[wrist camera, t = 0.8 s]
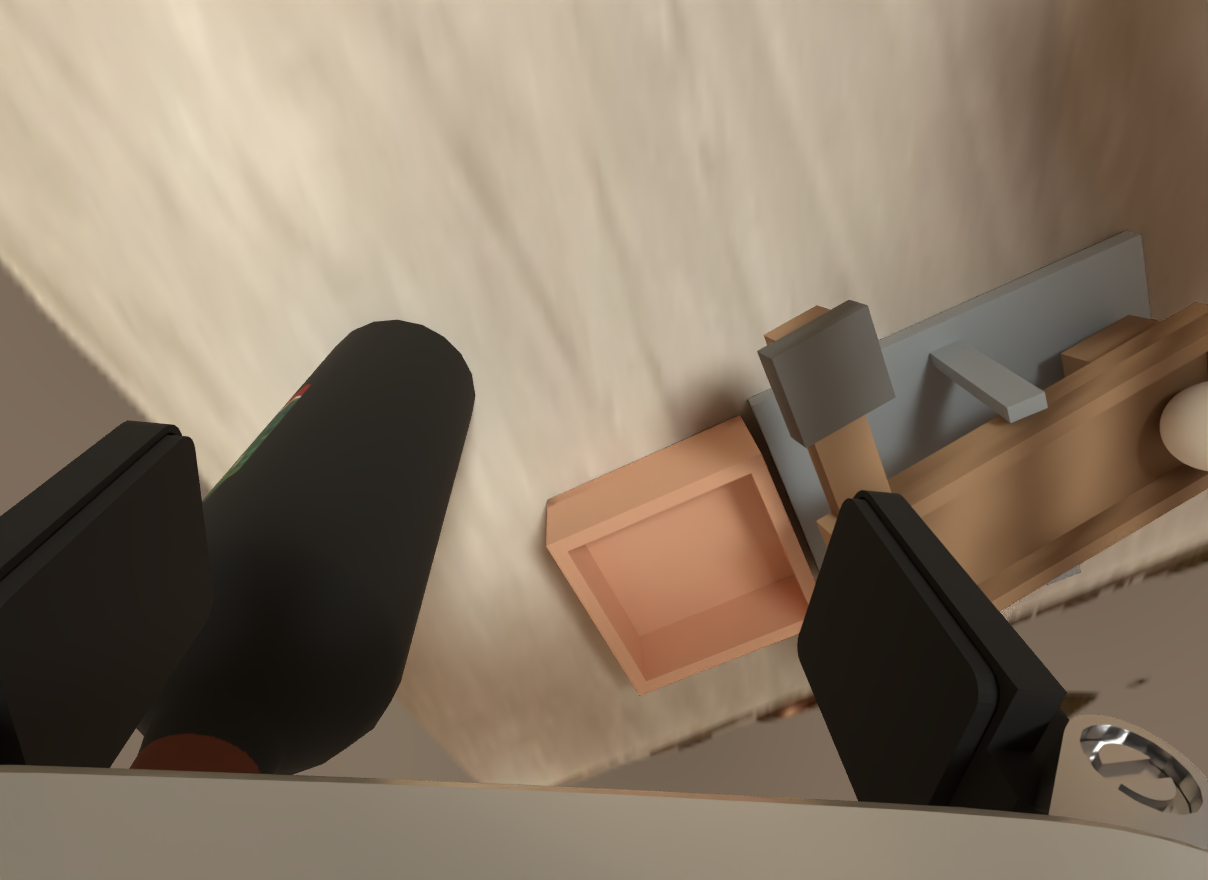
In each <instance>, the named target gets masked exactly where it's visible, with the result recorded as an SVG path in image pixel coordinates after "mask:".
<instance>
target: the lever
mask: <svg viewBox="0 0 1208 880" xmlns="http://www.w3.org/2000/svg"><path fill="white" fill-rule="evenodd" d="M764 337H765V340H766V343H767V346H766V347H764V348H762V349H760V350H759V351H757V352H758V355H759V357H760V360H761V362H762V365H763V367H764V370H765V373H766V375H767V378H768V380H769V383H770V385H771V388H772V390H773V393H774V395H775V398H776V401H777V403H778V406H779V408H780V411H781V413H782V416H783V418H784V421H785V423H786V426H787V429H788V431H789V434H790V436H791V438H793V439H794V440H795V441H797V442H798V443H800V444H801V445H802V446H804V447H805V448H807V449H808V452H809V455H810V457H811V460H812V462H813V465H814V468H815V470H816V473H817V475H818V478H819V481H820V483H821V486H822V488H823V491H824V494H825V496H826V499H827V501H828V504H829V507H830V509H831V513H829V514H828V515H826V516H824V517H822V518H821V519H819V520H817V521H816V522H817V525H818V527H819V530H820V532H821V535H822V537H823V540H824V542H825V545H826V547H828V544H829V541H830V538H831V535H832V532H833V529H834V526H835V523H836V520H837V517H838V514H839V511H840V508H841V505H842V503H843V502H844V501H845V500H846V499H847V498H852V499H853V497H854V496H855V495H856V493H857V492H859V491H861V490H867V491H878V492H888V493H898V494H900V495H902V496H903V497H904V498H905V499H906V501H907V502H908V503H909V504H910V505H911V507H912V508H913V509H914V510H915V511H916V513H917V514H918V515H919V516H920V517H921V519H922V520H923V521H924V522H925V523H926V525H927V526H928V527H929V528H930V529H931V531H932V532H933V533H934V534H935V535H936V537H937V538H938V539H939V540H940V541H941V543H942V544H943V545H944V546H945V547H946V548H947V550H948V551H949V552H950V553H951V554H952V556H953V557H954V558H955V559H956V560H957V562H958V563H959V564H960V565H961V566H962V568H963V569H964V570H965V571H966V572H967V574H968V575H969V576H970V577H971V578H972V580H973V581H974V582H975V583H976V584H977V586H978V587H979V588H980V589H981V590H982V591H983V593H984V594H985V595H986V596H987V597H988V599H989V600H990V601H991V602H992V603H993V605H994V606H995V607H996V608H997V609H998V611H1001V610H1003V609H1005V608H1006V607H1008V606H1010V605H1011V604H1013V603H1015V602H1016V601H1018V600H1020V599H1021V598H1023V597H1025V596H1027V595H1028V594H1030V593H1032V592H1033V591H1035V590H1037V589H1038V588H1040V587H1042V586H1043V585H1045V584H1047V583H1048V582H1050V581H1052V580H1054V579H1055V578H1057V577H1059V576H1060V575H1062V574H1064V573H1065V572H1067V571H1069V570H1070V569H1072V568H1074V567H1076V566H1077V565H1079V564H1081V563H1082V562H1084V561H1086V560H1087V559H1089V558H1091V557H1092V556H1094V555H1096V554H1097V553H1099V552H1101V551H1103V550H1104V549H1106V548H1108V547H1109V546H1111V545H1113V544H1114V543H1116V542H1118V541H1119V540H1121V539H1123V538H1125V537H1126V536H1128V535H1130V534H1131V533H1133V532H1135V531H1136V530H1138V529H1140V528H1141V527H1143V526H1145V525H1146V524H1148V523H1150V522H1152V521H1153V520H1155V519H1157V518H1158V517H1160V516H1162V515H1163V514H1165V513H1167V512H1168V511H1170V510H1172V509H1174V508H1175V507H1177V506H1179V505H1180V504H1182V503H1184V502H1185V501H1187V500H1189V499H1190V498H1192V497H1194V496H1195V495H1197V494H1199V493H1201V492H1202V491H1204V490H1206V489H1207V488H1208V471H1204V470H1200V469H1196V468H1193V467H1191V466H1189V465H1186V464H1184V463H1183V462H1181V461H1180V460H1178V459H1177V458H1176V457H1174V456H1173V455H1172V454H1171V453H1170V452H1169V450H1168V449H1167V448H1166V446H1165V445H1164V443H1163V441H1162V438H1161V435H1160V418H1161V415H1162V412H1163V410H1164V408H1165V407H1166V405H1167V404H1168V402H1169V401H1170V400H1171V399H1172V398H1173V397H1174V396H1175V395H1177V394H1178V393H1179V392H1181V391H1182V390H1184V389H1186V388H1188V387H1190V386H1192V385H1195V384H1198V383H1202V382H1206V381H1208V304H1202V303H1196V302H1195V303H1194V304H1192V305H1190V306H1188V307H1187V308H1185V309H1183V310H1181V311H1180V312H1178V313H1176V314H1175V315H1173V316H1171V317H1169V318H1168V319H1166V320H1164V321H1157V320H1152V319H1147V318H1142V317H1138V316H1133V315H1127V316H1125V317H1123V318H1122V319H1120V320H1118V321H1116V322H1115V323H1113V324H1111V325H1109V326H1108V327H1106V328H1104V329H1103V330H1101V331H1099V332H1097V333H1096V334H1094V335H1092V336H1090V337H1089V338H1087V339H1085V340H1083V341H1082V342H1080V343H1078V344H1076V345H1075V346H1073V347H1071V348H1069V349H1068V350H1066V351H1064V352H1062V353H1061V359H1062V364H1063V370H1064V375H1065V378H1063V379H1062V380H1060V381H1058V382H1057V383H1055V384H1053V385H1051V386H1050V387H1048V388H1046V389H1044V390H1043V391H1044V392H1045V396H1046V401H1047V406H1048V408H1046V409H1044V410H1041V411H1039V412H1037V413H1034V414H1032V415H1029V416H1027V417H1024V418H1022V419H1020V420H1017V421H1015V422H1012V423H1010V422H1008V421H1007V420H1006V419H1004V418H1003V417H1001V416H1000V415H999V416H998V417H996V418H994V419H992V420H991V421H989V422H987V423H985V424H984V425H982V426H980V427H978V428H977V429H975V430H973V431H972V432H970V433H968V434H966V435H965V436H963V437H961V438H959V439H958V440H956V441H954V442H952V443H951V444H949V445H947V446H946V447H944V448H942V449H940V450H939V451H937V452H935V453H933V454H932V455H930V456H928V457H926V458H925V459H923V460H921V461H919V462H918V463H916V464H914V465H913V466H911V467H909V468H907V469H906V470H904V471H902V472H900V473H899V474H897V475H895V476H893V477H892V478H890V479H888V480H887V478H886V475H885V472H884V469H883V466H882V463H881V460H880V457H879V454H878V451H877V448H876V445H875V442H874V439H873V436H872V433H871V430H870V427H869V424H868V421H867V418H866V415H865V414H867V413H869V412H871V411H872V410H874V409H876V408H878V407H879V406H881V405H883V404H885V403H886V402H888V401H890V400H892V399H893V398H895V393H894V390H893V387H892V384H891V380H890V377H889V374H888V371H887V367H886V364H885V361H884V358H883V354H882V351H881V348H880V345H879V341H878V338H877V335H876V332H875V328H874V325H873V322H872V319H871V315H870V312H869V309H868V306H867V305H864V304H861V303H858V302H855V301H851V300H848V301H846V302H844V303H842V304H841V305H839V306H837V307H835V308H833V309H832V310H829V309H826V308H823V307H820V306H815V307H813V308H811V309H810V310H808V311H806V312H804V313H802V314H801V315H799V316H797V317H795V318H793V319H792V320H790V321H788V322H786V323H785V324H783V325H781V326H779V327H777V328H776V329H774V330H772V331H770V332H768V333H767V334H765V335H764Z"/></svg>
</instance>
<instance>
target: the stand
mask: <svg viewBox="0 0 1208 880" xmlns="http://www.w3.org/2000/svg"><path fill="white" fill-rule="evenodd" d="M1127 315H1133V316H1138V317H1142V318H1147V319H1151V313H1150V305H1149V296H1148V288H1147V279H1146V271H1145V262H1144V254H1143V245H1142V237H1141V234H1138V233H1134V232H1130V231H1124V232H1122V233H1120V234H1117V235H1115V236H1113V237H1111V238H1108V239H1106V240H1104V241H1102V242H1099V243H1097V244H1095V245H1093V246H1090V247H1088V248H1086V249H1084V250H1081V251H1079V252H1077V253H1075V254H1072V255H1070V256H1068V257H1066V258H1063V259H1061V260H1059V261H1057V262H1054V263H1052V264H1050V265H1048V266H1045V267H1043V268H1041V269H1039V270H1036V271H1034V272H1032V273H1030V274H1027V275H1025V276H1023V277H1021V278H1018V279H1016V280H1014V281H1012V282H1009V283H1007V284H1005V285H1003V286H1000V287H998V288H996V289H994V290H991V291H989V292H987V293H985V294H982V295H980V296H978V297H976V298H973V299H971V300H969V301H967V302H964V303H962V304H960V305H958V306H955V307H953V308H951V309H949V310H946V311H944V312H942V313H940V314H937V315H935V316H933V317H931V318H928V319H926V320H924V321H922V322H919V323H917V324H915V325H913V326H910V327H908V328H906V329H904V330H901V331H899V332H897V333H895V334H892V335H890V336H888V337H886V338H883V339H881V340H879V345H880V348H881V351H882V354H883V358H884V361H885V364H886V367H887V371H888V374H889V377H890V380H891V384H892V387H893V390H894V393H895V398H893V399H892V400H890V401H888V402H886V403H885V404H883V405H881V406H879V407H878V408H876V409H874V410H872V411H871V412H869V413H867V414H865V415H866V418H867V421H868V424H869V427H870V430H871V433H872V436H873V439H874V442H875V445H876V448H877V451H878V454H879V457H880V460H881V463H882V466H883V469H884V472H885V475H886V478H887V480H888V479H890V478H892V477H893V476H895V475H897V474H899V473H900V472H902V471H904V470H906V469H907V468H909V467H911V466H913V465H914V464H916V463H918V462H919V461H921V460H923V459H925V458H926V457H928V456H930V455H932V454H933V453H935V452H937V451H939V450H940V449H942V448H944V447H946V446H947V445H949V444H951V443H952V442H954V441H956V440H958V439H959V438H961V437H963V436H965V435H966V434H968V433H970V432H972V431H973V430H975V429H977V428H978V427H980V426H982V425H984V424H985V423H987V422H989V421H991V420H992V419H994V418H996V417H998V416H999V415H1000V416H1001V417H1003V418H1004V419H1006V420H1007V421H1008V422H1010V423H1012V422H1015V421H1017V420H1020V419H1022V418H1024V417H1027V416H1029V415H1032V414H1034V413H1037V412H1039V411H1041V410H1044V409H1046V408H1048V406H1047V401H1046V396H1045V392H1044V391H1043V390H1044V389H1046V388H1048V387H1050V386H1051V385H1053V384H1055V383H1057V382H1058V381H1060V380H1062V379H1063V378H1065V375H1064V370H1063V364H1062V359H1061V353H1062V352H1064V351H1066V350H1068V349H1069V348H1071V347H1073V346H1075V345H1076V344H1078V343H1080V342H1082V341H1083V340H1085V339H1087V338H1089V337H1090V336H1092V335H1094V334H1096V333H1097V332H1099V331H1101V330H1103V329H1104V328H1106V327H1108V326H1109V325H1111V324H1113V323H1115V322H1116V321H1118V320H1120V319H1122V318H1123V317H1125V316H1127ZM748 401H749V404H750V406H751V408H752V411H753V413H754V416H755V418H756V421H757V423H758V425H759V428H760V430H761V433H762V435H763V437H764V440H765V442H766V445H767V447H768V450H769V452H770V454H771V457H772V459H773V462H774V464H775V466H776V469H777V471H778V474H779V476H780V479H781V481H782V483H783V486H784V488H785V491H786V493H787V495H788V498H789V500H790V503H791V505H792V508H793V510H794V512H795V515H796V517H797V520H798V522H799V524H800V527H801V529H802V532H803V534H804V537H805V539H806V541H807V544H808V546H809V549H810V551H811V553H812V556H813V558H814V561H815V563H816V566H817V568H818V570H819V572H820V569H821V565H822V562H823V559H824V556H825V553H826V550H827V547H826V545H825V542H824V540H823V537H822V535H821V532H820V530H819V527H818V525H817V522H816V521H817V520H819V519H821V518H822V517H824V516H826V515H828V514H829V513H831V509H830V507H829V504H828V501H827V499H826V496H825V494H824V491H823V488H822V486H821V483H820V481H819V478H818V475H817V473H816V470H815V468H814V465H813V462H812V460H811V457H810V455H809V452H808V449H807V448H805V447H804V446H802V445H801V444H800V443H798V442H797V441H795V440H794V439H793V438H791V436H790V434H789V431H788V429H787V426H786V423H785V421H784V418H783V416H782V413H781V411H780V408H779V406H778V403H777V401H776V398H775V395H774V393H773V390H772V388H771V389H769V390H766V391H764V392H762V393H760V394H757V395H755V396H753V397H751V398H748ZM1080 572H1081V571H1080V566H1079V565H1077V566H1076V567H1074V568H1072V569H1070V570H1069V571H1067V572H1065V573H1064V574H1062V575H1060V576H1059V577H1057V578H1055V579H1054V580H1052V581H1050V582H1048V583H1047V585H1048V584H1051V583H1053V582H1056V581H1059V580H1061V579H1064V578H1067V577H1069V576H1072V575H1074V574H1077V573H1080Z"/></svg>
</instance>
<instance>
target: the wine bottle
mask: <svg viewBox="0 0 1208 880" xmlns="http://www.w3.org/2000/svg"><path fill="white" fill-rule="evenodd" d="M474 400H475V391H474V385H473V379H472V374H471V372H470V370H469V368H468V366H467V364H466V362H465V360H464V359H463V357H462V355H461V353H460V352H459V351H458V350H457V349H456V348H455V347H454V346H453V345H452V344H451V343H450V342H449V341H448V340H447V339H446V338H445V337H443V336H441V335H440V334H438V333H436V332H434V331H432V330H430V329H428V328H427V327H425V326H423V325H420V324H415V323H410V322H405V321H401V320H390V321H379V322H372V323H370V324H368V325H365V326H363V327H361V328H358V329H356V330H354V331H352V332H351V333H350V334H349V335H348V336H346V337H345V338H344V339H343V340H342V341H341V342H340V343H339V344H338V345H337V346H336V347H335V348H334V349H333V350H332V352H331V353H330V354H329V355H328V356H327V357H326V358H325V360H324V361H323V362H322V363H321V364H320V365H319V367H318V368H317V369H316V370H315V371H314V372H313V374H312V375H311V376H310V377H309V378H308V379H307V380H306V382H305V383H304V384H303V385H302V386H301V387H300V389H299V390H298V391H297V392H296V393H295V394H294V395H293V397H292V398H291V399H290V400H289V401H288V402H287V404H286V405H285V406H284V407H283V408H282V409H281V410H280V412H279V413H278V414H277V415H276V416H275V417H274V419H273V420H272V421H271V422H270V423H269V424H268V425H267V427H266V428H265V429H264V430H263V431H262V432H261V434H260V435H259V436H258V437H257V438H256V439H255V441H254V442H253V443H252V444H251V445H250V446H249V447H248V449H247V450H246V451H245V452H244V453H243V454H242V456H241V457H240V458H239V459H238V460H237V461H236V462H235V464H234V465H233V466H232V467H231V468H230V469H229V471H228V472H227V473H226V474H225V475H224V476H223V477H222V479H221V480H220V481H219V482H218V483H217V484H216V486H215V487H214V488H213V489H212V490H211V491H210V492H209V494H208V495H207V496H206V497H205V498H204V499H203V501H202V507H203V514H204V522H205V530H206V538H207V546H208V554H209V562H210V569H211V577H212V585H213V596H214V598H213V606H212V610H211V613H210V616H209V618H208V620H207V622H206V623H205V625H204V626H203V628H202V629H201V631H200V632H199V634H198V635H197V637H196V638H195V640H194V641H193V643H192V644H191V646H190V647H189V649H188V650H187V652H186V653H185V655H184V656H183V658H182V659H181V661H180V662H179V664H178V665H177V667H176V668H175V670H174V671H173V673H172V674H171V676H170V677H169V679H168V680H167V682H166V684H165V685H164V687H163V688H162V690H161V691H160V693H159V694H158V696H157V697H156V699H155V700H154V702H153V703H152V705H151V706H150V708H149V709H148V711H147V712H146V714H145V715H144V717H143V718H142V720H141V721H140V723H139V724H138V726H137V727H136V728H137V729H138V730H139V731H140V732H141V733H142V735H143V736H144V739H143V741H142V745H141V748H140V750H139V753H138V756H137V757H136V759H135V760H134V762H133V764H132V765H131V767H130V768H129V769H147V770H173V771H198V772H224V773H249V774H275V775H293V774H295V773H298V772H301V771H304V770H307V769H310V768H313V767H315V766H318V765H321V764H323V763H325V762H326V761H328V760H329V759H331V758H332V757H334V756H335V755H337V754H338V753H340V752H341V751H343V750H344V749H346V748H347V747H349V746H350V745H351V744H353V743H354V742H356V741H357V740H358V739H359V738H361V737H362V736H364V735H365V734H366V733H368V732H369V731H371V730H372V729H373V728H374V727H375V725H376V724H377V722H378V721H379V719H380V718H381V716H382V715H383V713H384V711H385V710H386V708H387V707H388V705H389V703H390V702H391V700H392V698H393V696H394V694H395V692H396V690H397V688H398V686H399V684H400V683H401V679H402V675H403V671H404V668H405V664H406V660H407V656H408V653H409V649H410V645H411V641H412V638H413V634H414V630H415V626H416V623H417V619H418V615H419V611H420V608H421V604H422V600H423V596H424V593H425V589H426V585H427V581H428V578H429V574H430V570H431V566H432V563H433V559H434V555H435V551H436V547H437V544H438V540H439V536H440V532H441V529H442V525H443V521H444V517H445V514H446V510H447V506H448V502H449V499H450V495H451V491H452V487H453V484H454V480H455V476H456V472H457V469H458V465H459V461H460V457H461V454H462V450H463V446H464V442H465V439H466V435H467V431H468V427H469V424H470V420H471V416H472V411H473V405H474Z"/></svg>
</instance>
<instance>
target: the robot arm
mask: <svg viewBox="0 0 1208 880" xmlns="http://www.w3.org/2000/svg"><path fill="white" fill-rule="evenodd" d="M213 598H214V596H213V585H212V577H211V569H210V562H209V554H208V546H207V538H206V530H205V522H204V514H203V507H202V499H201V491H200V483H199V475H198V467H197V460H196V452H195V446H194V443H193V441H192V439H191V438H190V437H187V436H182V434H181V432H180V430H179V428H178V427H176V426H175V425H170V424H160V423H149V422H139V421H126V422H124V423H122V424H120V425H119V426H118V427H116V428H115V429H114V430H113V431H111V432H110V433H109V434H107V435H106V436H105V437H103V438H102V439H101V440H100V441H98V442H97V443H96V444H94V445H93V446H92V447H90V448H89V449H88V450H87V451H85V452H84V453H83V454H81V455H80V456H79V457H77V458H76V459H75V460H73V461H72V462H71V463H70V464H68V465H67V466H66V467H64V468H63V469H62V470H60V471H59V472H58V473H56V474H55V475H54V476H53V477H51V478H50V479H49V480H47V481H46V482H45V483H43V484H42V485H41V486H39V487H38V488H37V489H36V490H35V491H33V492H32V493H30V494H29V495H28V496H26V497H25V498H24V499H23V500H21V501H20V502H19V503H17V504H16V505H15V506H13V507H12V508H11V509H9V510H8V511H7V512H5V513H4V514H3V515H2V516H0V880H1208V780H1207V779H1206V777H1205V776H1204V774H1203V773H1202V772H1200V770H1199V769H1198V768H1197V767H1196V766H1194V765H1193V764H1192V763H1191V762H1190V761H1189V760H1188V759H1187V758H1186V757H1185V756H1184V755H1182V754H1181V753H1180V752H1179V751H1177V750H1176V749H1174V748H1173V747H1172V746H1170V745H1169V744H1168V743H1166V742H1165V741H1164V740H1162V739H1160V738H1158V737H1157V736H1155V735H1153V734H1151V733H1149V732H1148V731H1146V730H1144V729H1142V728H1140V727H1138V726H1135V725H1133V724H1130V723H1128V722H1125V721H1123V720H1120V719H1117V718H1113V717H1108V716H1104V715H1099V714H1090V715H1089V714H1087V715H1080V716H1077V717H1075V718H1073V719H1070V720H1069V719H1068V718H1067V716H1066V715H1065V714H1064V713H1063V711H1062V710H1061V709H1060V708H1059V706H1060V704H1061V702H1062V700H1063V699H1064V697H1065V695H1066V693H1067V692H1066V691H1065V689H1064V688H1063V687H1062V686H1061V685H1060V684H1059V683H1058V681H1057V680H1056V679H1055V678H1054V676H1052V674H1051V673H1050V672H1049V670H1048V669H1047V668H1046V667H1045V666H1044V665H1043V663H1042V662H1041V661H1040V660H1039V658H1038V657H1037V656H1036V655H1035V654H1034V652H1033V651H1032V650H1031V649H1030V648H1029V647H1028V645H1027V644H1026V643H1025V642H1024V640H1023V639H1022V638H1021V637H1020V636H1019V635H1018V633H1017V632H1016V631H1015V630H1014V629H1013V627H1012V626H1011V625H1010V624H1009V623H1008V621H1007V620H1006V619H1005V618H1004V617H1003V615H1002V614H1001V613H1000V612H999V611H998V609H997V608H996V607H995V606H994V605H993V603H992V602H991V601H990V600H989V599H988V597H987V596H986V595H985V594H984V593H983V591H982V590H981V589H980V588H979V587H978V586H977V584H976V583H975V582H974V581H973V580H972V578H971V577H970V576H969V575H968V574H967V572H966V571H965V570H964V569H963V568H962V566H961V565H960V564H959V563H958V562H957V560H956V559H955V558H954V557H953V556H952V554H951V553H950V552H949V551H948V550H947V548H946V547H945V546H944V545H943V544H942V543H941V541H940V540H939V539H938V538H937V537H936V535H935V534H934V533H933V532H932V531H931V529H930V528H929V527H928V526H927V525H926V523H925V522H924V521H923V520H922V519H921V517H920V516H919V515H918V514H917V513H916V511H915V510H914V509H913V508H912V507H911V505H910V504H909V503H908V502H907V501H906V499H905V498H904V497H903V496H902V495H900V494H898V493H888V492H878V491H867V490H861V491H859V492H857V493H856V495H855V496H854V497H853V499H852V498H847V499H846V500H845V501H844V502H843V503H842V505H841V508H840V511H839V514H838V517H837V520H836V523H835V526H834V529H833V532H832V535H831V538H830V541H829V544H828V547H827V550H826V553H825V556H824V559H823V562H822V565H821V569H820V572H819V575H818V578H817V581H816V584H815V587H814V590H813V593H812V596H811V599H810V602H809V605H808V608H807V611H806V614H805V617H804V620H803V623H802V626H801V629H800V632H799V636H798V644H797V647H798V656H799V660H800V662H801V665H802V667H803V670H804V672H805V674H806V677H807V679H808V682H809V684H810V686H811V689H812V691H813V694H814V696H815V698H816V701H817V703H818V706H819V708H820V710H821V713H822V715H823V718H824V720H825V722H826V725H827V727H828V729H829V732H830V734H831V736H832V739H833V742H834V744H835V746H836V749H837V751H838V754H839V756H840V758H841V761H842V763H843V765H844V768H845V770H846V773H847V775H848V777H849V780H850V782H851V784H852V787H853V789H854V792H855V794H856V797H857V799H858V801H840V800H822V799H821V800H820V799H802V798H782V797H781V798H780V797H763V796H742V795H723V794H704V793H683V792H665V791H644V790H622V789H599V788H578V787H557V786H535V785H513V784H490V783H467V782H445V781H421V780H399V779H376V778H375V779H374V778H351V777H349V778H348V777H325V776H300V775H275V774H249V773H224V772H198V771H173V770H147V769H120V768H119V769H118V768H110V767H111V765H112V763H113V762H114V760H115V759H116V757H117V756H118V754H119V753H120V751H121V750H122V748H123V747H124V745H125V744H126V742H127V741H128V739H129V738H130V736H131V735H132V733H133V732H134V730H135V729H136V727H137V726H138V724H139V723H140V721H141V720H142V718H143V717H144V715H145V714H146V712H147V711H148V709H149V708H150V706H151V705H152V703H153V702H154V700H155V699H156V697H157V696H158V694H159V693H160V691H161V690H162V688H163V687H164V685H165V684H166V682H167V680H168V679H169V677H170V676H171V674H172V673H173V671H174V670H175V668H176V667H177V665H178V664H179V662H180V661H181V659H182V658H183V656H184V655H185V653H186V652H187V650H188V649H189V647H190V646H191V644H192V643H193V641H194V640H195V638H196V637H197V635H198V634H199V632H200V631H201V629H202V628H203V626H204V625H205V623H206V622H207V620H208V618H209V616H210V613H211V610H212V606H213Z"/></svg>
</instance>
